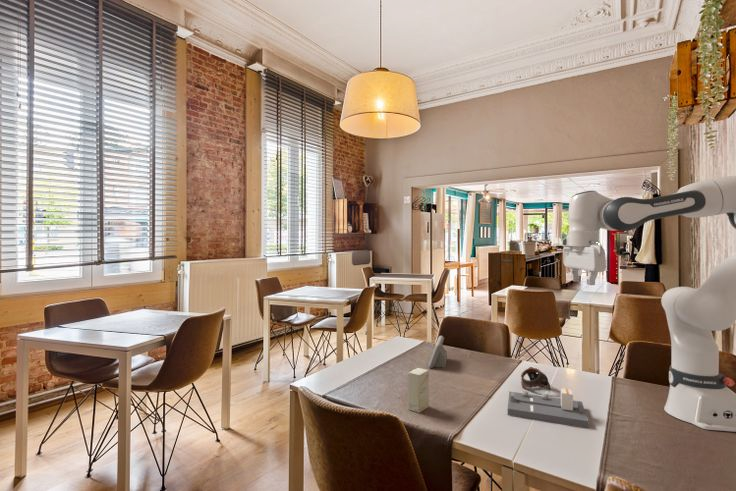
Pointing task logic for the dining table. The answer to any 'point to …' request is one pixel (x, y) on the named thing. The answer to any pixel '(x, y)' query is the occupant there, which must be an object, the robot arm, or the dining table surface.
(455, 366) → the dining table surface
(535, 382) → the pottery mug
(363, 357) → the dining table surface
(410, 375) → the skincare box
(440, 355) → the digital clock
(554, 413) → the console
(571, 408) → the fader tab
